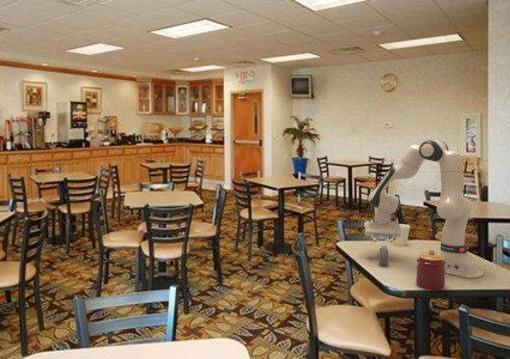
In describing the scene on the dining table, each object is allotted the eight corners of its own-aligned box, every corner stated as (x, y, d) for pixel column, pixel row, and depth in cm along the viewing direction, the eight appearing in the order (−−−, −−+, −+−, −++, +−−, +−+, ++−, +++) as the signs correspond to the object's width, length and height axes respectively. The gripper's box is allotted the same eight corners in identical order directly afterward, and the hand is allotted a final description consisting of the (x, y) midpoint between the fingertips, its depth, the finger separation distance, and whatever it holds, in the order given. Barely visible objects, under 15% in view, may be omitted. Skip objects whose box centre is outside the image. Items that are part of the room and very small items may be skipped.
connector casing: (387, 267, 238) (388, 247, 236) (379, 266, 239) (380, 246, 237) (386, 263, 244) (387, 244, 243) (378, 262, 245) (379, 243, 244)
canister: (409, 282, 213) (411, 247, 211) (430, 279, 217) (432, 245, 216) (429, 291, 201) (430, 254, 199) (450, 288, 205) (452, 251, 204)
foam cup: (390, 244, 287) (391, 225, 285) (399, 242, 292) (400, 223, 291) (403, 247, 279) (404, 227, 278) (411, 245, 285) (412, 225, 283)
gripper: (364, 217, 256) (364, 237, 247) (400, 219, 252) (402, 240, 243) (364, 223, 261) (363, 243, 252) (399, 225, 256) (400, 245, 248)
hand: (382, 241), depth 248 cm, fingers open, 8 cm apart
